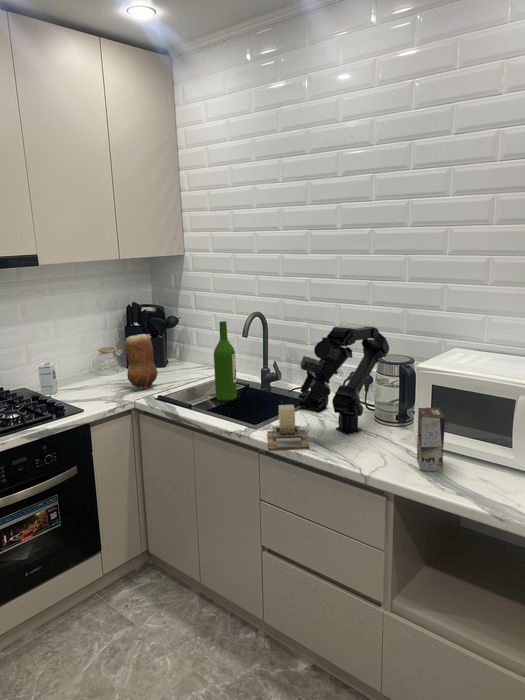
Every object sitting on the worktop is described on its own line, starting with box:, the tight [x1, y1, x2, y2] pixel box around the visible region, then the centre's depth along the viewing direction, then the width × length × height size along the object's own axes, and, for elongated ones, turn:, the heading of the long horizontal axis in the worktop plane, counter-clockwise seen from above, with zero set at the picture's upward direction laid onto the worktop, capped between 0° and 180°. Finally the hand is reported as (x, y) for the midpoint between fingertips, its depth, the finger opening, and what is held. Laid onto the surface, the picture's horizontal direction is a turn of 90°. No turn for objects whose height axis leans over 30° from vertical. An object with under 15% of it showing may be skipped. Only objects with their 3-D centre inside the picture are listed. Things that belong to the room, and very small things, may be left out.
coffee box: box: [416, 407, 446, 472], centre depth 153 cm, size 9×6×16 cm
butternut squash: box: [124, 333, 159, 389], centre depth 241 cm, size 14×13×25 cm
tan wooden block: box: [278, 404, 296, 436], centre depth 177 cm, size 5×5×10 cm
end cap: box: [298, 389, 329, 414], centre depth 207 cm, size 10×7×7 cm
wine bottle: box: [213, 320, 238, 402], centre depth 222 cm, size 9×9×32 cm
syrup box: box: [37, 362, 59, 396], centre depth 235 cm, size 6×6×14 cm
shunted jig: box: [267, 425, 310, 451], centre depth 176 cm, size 15×13×3 cm
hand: (302, 397), depth 178 cm, fingers open, 9 cm apart
